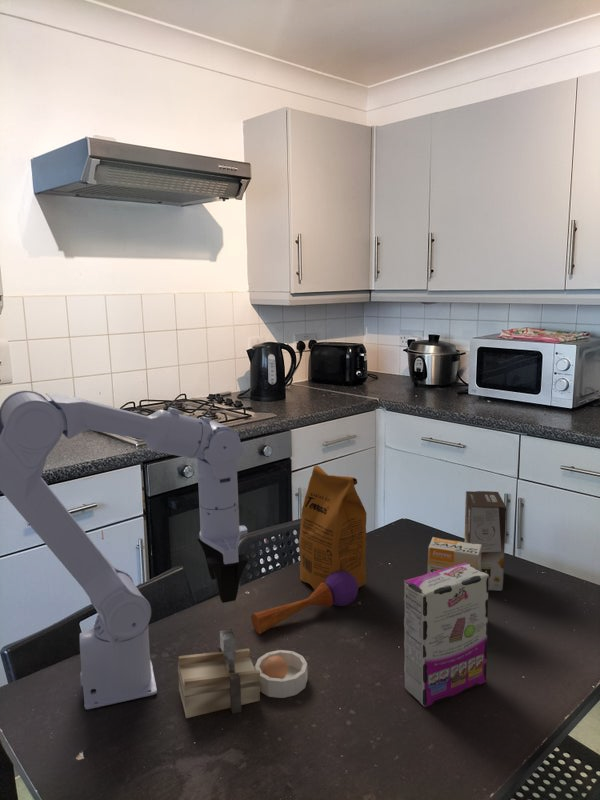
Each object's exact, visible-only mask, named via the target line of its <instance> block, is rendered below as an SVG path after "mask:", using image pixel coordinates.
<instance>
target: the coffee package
mask: <svg viewBox="0 0 600 800" xmlns="http://www.w3.org/2000/svg"><path fill="white" fill-rule="evenodd" d="M356 485H358V479H357V478H356V477H353V476H342V475H329V474H328V473H326V471H325V470H324V469H322V468H321V467H320V466H319V465H315V466H314V467H313V469H312V472H311V476H310V478H309V482H308V485H307V489H306V493H305V496H304V500H303V504H302V508H301V514H300V525H299V537H298V538H299V539H298V550H299V572H300V575H299V578H300V579H299V580H300V581H301V582H303V583H306V584H309V585H310V586H311V588H312V589H313V591H315V589H316V588H317V587H318V586H319V585H320V583H325V581H326V579H327V578H328V576H329V575H330V574H331V573H333V572H337V571H347V572H348V573H350V574H351V575H353V576H354V577H355V579H356V581H357V583H358V589H359V588H361V587H362V586H364V585H365V584H366V583H367V580H366V575H367V574H366V569H367V568H366V567H367V564H366V561H367V560H366V555H367V546H366V545H367V510H366V509H365V507H364V504H363V502H362V500H361V498H360V497H359V494H358V493H357V491H356Z"/></svg>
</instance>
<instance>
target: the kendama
mask: <svg viewBox="0 0 600 800" xmlns="http://www.w3.org/2000/svg"><path fill="white" fill-rule="evenodd" d="M358 592H359V588H358V583H357V581H356V579H355V577H354V576H353V575H351V574H350V573H348V572H347V571H337V572H333V573H331V574H330V575H329V576H328V578H327V579H326V581H325V583H320V585H319V586H318V587H317V588H316V589H315V590H313V592H312V593H311V594H310V595H309V596H308V598H304V599H301V600H298V601H294V602H291V603H286V604H283V605H279V606H275V607H272V608H269V609H265V610H261V611H258V612H254V613H252V614H251V618H250V619H251V622H252V623H251V624H252V626H253V629H254V630H255V632H256V633H257V634H259V635H261V634H262V633H264V632H266V631H268V630H269V629H272V628H273V627H274V626H276V625H278V624H280V623H281V622H283V621H285V620H287V619H288V618H290V617H292V616H293V615H295V614H297V613H299V612H300V611H302V610H304V609H306V608H308V607H309V606H321V607H331V606H333V605H335V606H342V607H345V606H349V605H351V604H352V603H353V602H354V601H355V599H356V598H357V596H358Z"/></svg>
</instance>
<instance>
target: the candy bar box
mask: <svg viewBox="0 0 600 800" xmlns="http://www.w3.org/2000/svg"><path fill="white" fill-rule="evenodd" d="M488 581H489V575H488V574H486V573H484V572H483V571H480V570H479V569H477V568H475V567H472V565H470V564H468V563H462V564H459V565H455V566H452V567H449V568H445V569H442V570H439V571H435V572H432V573H428V574H427V573H425V574H422V575H420V576H416V577H412V578H409V579H405V580H403V595H404V596H403V627H404V630H403V632H404V633H403V637H404V638H403V646H404V647H403V648H404V649H403V650H404V651H403V653H404V654H403V657H404V658H403V661H404V663H403V667H404V668H403V671H404V674H403V678H404V679H403V680H404V681H403V682H404V683H403V686H404V687H403V688H404V689H405V691H406V692H407V693H408V694H409V695H411V697H413V698H414V699H415V700H416V701H417V702H418V703H420V705H422V706H423V707H424V708H427V707H430V706H432V705H435V704H438V703H439V702H443V701H444V700H447V699H450V698H451V697H455V696H456V695H459V694H461V693H463V692H467V691H469V690H471V689H472V688H475V687H478V686H480V685H482V684H485V683H487V666H488V665H487V660H488V659H487V658H488V657H487V655H488V624H489V623H488V617H489V611H488V609H489V590H488Z"/></svg>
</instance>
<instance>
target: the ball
mask: <svg viewBox="0 0 600 800" xmlns="http://www.w3.org/2000/svg"><path fill="white" fill-rule="evenodd" d="M287 670H288V667H287V663H286V661H285V660H284V659H283V658H281V657H279V656H272V657H270V658H269V659H267V661H266V662H265V664H264V674H265V675H267V676H269V677H270V678H279V679H283V678H285V676H286V674H287Z"/></svg>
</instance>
